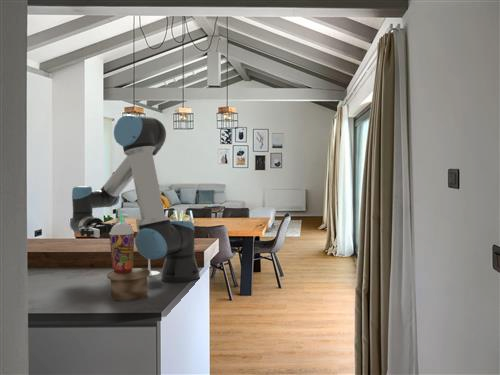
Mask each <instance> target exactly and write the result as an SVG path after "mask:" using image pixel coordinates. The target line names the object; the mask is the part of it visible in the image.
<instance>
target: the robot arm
mask: <svg viewBox="0 0 500 375" xmlns="http://www.w3.org/2000/svg"><path fill="white" fill-rule="evenodd" d="M113 138H114V140H115V142H116V143H117V144H118V145H119V146H122V150H123V154H124V155H125V156H126V157H125V158H124V159H123V160H122V162H121V163H120V165H119V166H118V167H117V168H116V170H115V171H114V172H113V173H112V175H111V176H110V177H108V180H107V181H106V182H105V183H104V185H102V187H101V188H100V189H98V190H97V189H96V190H94V189H92V188H93V187H92V186H89V185H87V186H86V185H84V186H83V185H82V186H80V185H79V186H73V188H72V191H71V198H72V199H71V200H72V201H71V203H72V217H71V219H70V220H69V227H70V229H71V230H72V231H73V232H74V233H76V234H78V235H80V236H81V237H84V236H86V238H91V237H92V238H101V235H103V234H105V233H110V231H111V229H112V227H113V226H114V225H115V224H116V223H115V222H112V223H110V222H104V221H103V219H101V218H99V217H95V216H93V209H99V208H111V207H115V206H116V205H118V204H119V202H120V199H121V198H120V194H121V193H122V192H123V191H124V189H125V188H126V187H127V186H128V185H129V184H130V182H131V181H132V180H133V182H134V184H133V185H134V188H135V193H136V198H137V203H138V207H139V213H140V218H141V219H142V220H141V222H140V224H139V225H138V226H139V232H137V233H136V236H135V237H134V244H135V245H134V246H135V248H136V250H137V251H138V253H139V255H141V256H142V257H143V258H145V259H147V260H148V259H150V261H151V260H158V259H159V260H160V259H163V258H164V261H163V266H162V269H161V272H160V278H161V280H162V281H164V282H168V283H183V282H190V281H191V282H192V281H196V280H198V279H199V278H200V270H199V267H198V264H197V260H196V258H195V257H196V256H195V250H196V249H195V225H194V223H193V221H191V220H171V219H170V217H167V216H166V214H165V210H164V204H163V200H162V196H161V190H160V184H159V180H158V175H157V170H156V165H155V160H154V159H155V158H154V156H156V155H157V154H158V152H160V150H161V149H162V147H163V146H164V143H166V142H165V141H166V138H167V131H166V128H165V125H164V124H163V123H162V122H161V121H160V120H159V119H157V118H154V117H151V116H150V117H148V116H142V115H138V114H124V115H122V116H121V117H120V118H119V119H118V120H117V122H116V124H115V125H114V128H113ZM128 224H129V225H130V226H131V227H132V228H133V225H131V224H130V223H128Z"/></svg>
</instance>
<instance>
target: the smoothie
mask: <svg viewBox="0 0 500 375" xmlns="http://www.w3.org/2000/svg"><path fill="white" fill-rule="evenodd" d="M122 214H123V213H120V219H121V222H119V223H117V224H115V225H114V226H113V227H112V229H111V231H110V232H109V234H108V235H109V243H110V246H109V247H110V255H111V265H112V267H111V268H112V270H113V271H114V272H115V273H120V274H121V273H128V272H131V271H132V268H134V250H135V247H134V246H135V245H134V244H135V231H134V229H133V226H132V225H131V224H130V223H128V224H127V223H125V222H122ZM129 224H130V225H129ZM131 226H132V227H131Z"/></svg>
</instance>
